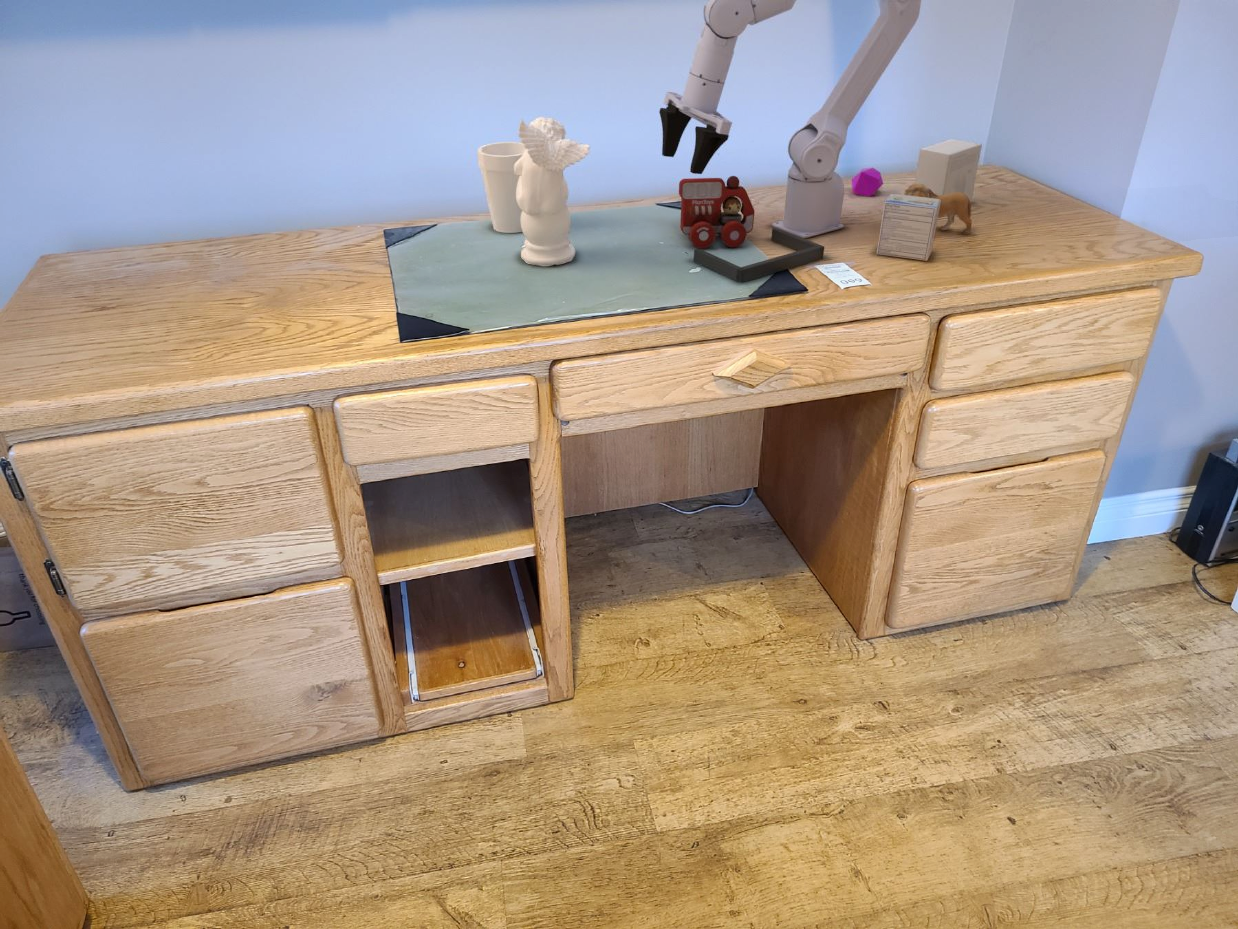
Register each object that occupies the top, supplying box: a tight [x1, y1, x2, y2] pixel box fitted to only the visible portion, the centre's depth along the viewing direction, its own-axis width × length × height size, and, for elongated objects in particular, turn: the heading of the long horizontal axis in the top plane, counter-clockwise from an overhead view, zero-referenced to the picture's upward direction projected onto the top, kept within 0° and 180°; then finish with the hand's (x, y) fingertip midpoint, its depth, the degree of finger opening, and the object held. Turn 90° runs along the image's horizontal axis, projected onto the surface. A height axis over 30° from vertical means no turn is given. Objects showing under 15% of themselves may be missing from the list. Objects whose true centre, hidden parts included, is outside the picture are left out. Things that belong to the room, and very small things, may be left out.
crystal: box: [850, 167, 884, 197], centre depth 168 cm, size 5×5×5 cm
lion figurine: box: [903, 183, 973, 235], centre depth 147 cm, size 15×5×9 cm, turn 113°
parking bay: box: [693, 227, 825, 284], centre depth 139 cm, size 17×11×2 cm, turn 125°
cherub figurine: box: [514, 116, 591, 267], centre depth 134 cm, size 12×12×22 cm
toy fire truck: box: [678, 175, 755, 249], centre depth 144 cm, size 7×12×10 cm, turn 96°
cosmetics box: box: [914, 138, 983, 204], centre depth 159 cm, size 10×6×10 cm, turn 131°
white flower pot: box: [477, 141, 527, 234], centre depth 150 cm, size 10×9×13 cm
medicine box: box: [876, 193, 941, 262], centre depth 139 cm, size 8×4×9 cm, turn 65°
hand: (681, 164), depth 145 cm, fingers open, 7 cm apart
